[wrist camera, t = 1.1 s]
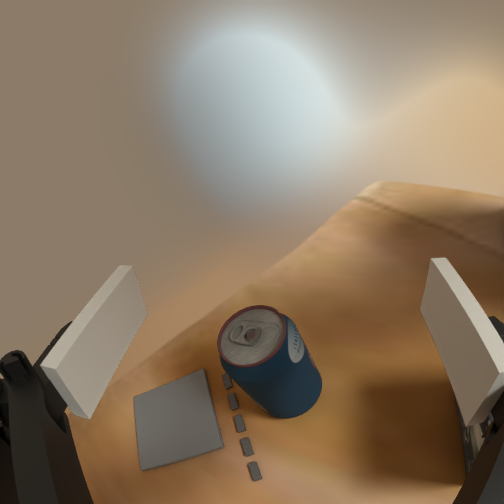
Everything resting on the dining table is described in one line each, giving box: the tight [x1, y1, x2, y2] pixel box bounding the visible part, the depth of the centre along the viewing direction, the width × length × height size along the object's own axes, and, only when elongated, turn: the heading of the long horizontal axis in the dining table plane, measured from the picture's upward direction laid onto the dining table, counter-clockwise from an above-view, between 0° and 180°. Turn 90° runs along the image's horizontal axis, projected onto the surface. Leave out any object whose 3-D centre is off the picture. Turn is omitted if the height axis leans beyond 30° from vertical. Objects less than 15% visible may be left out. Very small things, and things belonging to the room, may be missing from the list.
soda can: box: [217, 305, 322, 418], centre depth 28 cm, size 7×7×12 cm
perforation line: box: [222, 373, 262, 481], centre depth 31 cm, size 1×14×1 cm, turn 17°
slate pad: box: [134, 369, 224, 471], centre depth 34 cm, size 11×11×1 cm
